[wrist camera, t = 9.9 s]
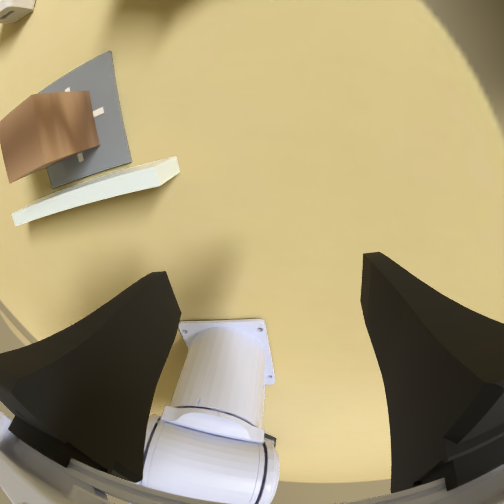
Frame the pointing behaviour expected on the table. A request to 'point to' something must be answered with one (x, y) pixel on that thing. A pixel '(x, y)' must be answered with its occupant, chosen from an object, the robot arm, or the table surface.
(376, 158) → the table surface
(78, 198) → the frosted wall
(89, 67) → the pad
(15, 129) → the walnut block
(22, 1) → the usb wall charger
